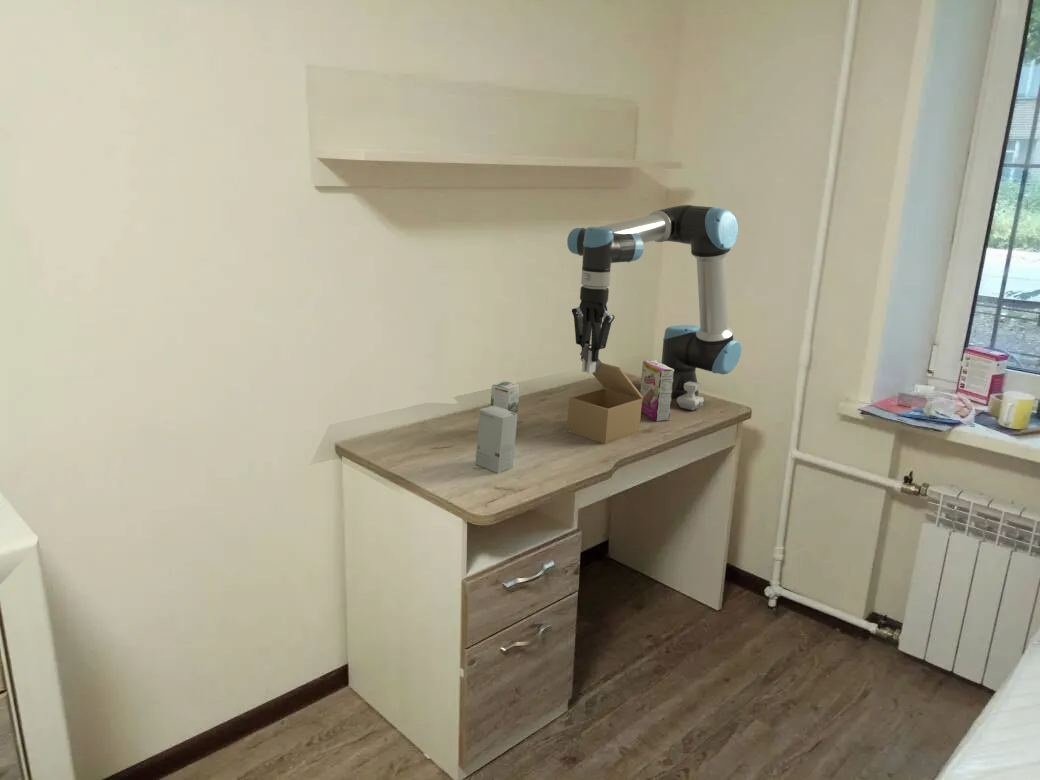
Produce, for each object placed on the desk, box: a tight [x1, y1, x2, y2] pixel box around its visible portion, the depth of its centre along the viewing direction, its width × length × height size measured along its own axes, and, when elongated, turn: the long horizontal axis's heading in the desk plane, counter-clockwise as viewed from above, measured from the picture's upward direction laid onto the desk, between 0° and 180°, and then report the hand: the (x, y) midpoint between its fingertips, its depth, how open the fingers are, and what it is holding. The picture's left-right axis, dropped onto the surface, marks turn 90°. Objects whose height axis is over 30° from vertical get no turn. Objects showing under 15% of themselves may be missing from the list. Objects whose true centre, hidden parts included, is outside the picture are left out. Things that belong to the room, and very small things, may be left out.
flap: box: [579, 345, 643, 399], centre depth 223 cm, size 25×14×3 cm
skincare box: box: [475, 405, 519, 474], centre depth 198 cm, size 8×6×15 cm
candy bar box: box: [639, 359, 674, 422], centre depth 243 cm, size 11×5×16 cm, turn 22°
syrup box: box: [490, 380, 520, 431], centre depth 221 cm, size 6×6×14 cm
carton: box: [566, 387, 642, 445], centre depth 228 cm, size 16×14×10 cm
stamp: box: [676, 381, 705, 411], centre depth 254 cm, size 9×7×8 cm
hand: (588, 371), depth 218 cm, fingers closed on flap
